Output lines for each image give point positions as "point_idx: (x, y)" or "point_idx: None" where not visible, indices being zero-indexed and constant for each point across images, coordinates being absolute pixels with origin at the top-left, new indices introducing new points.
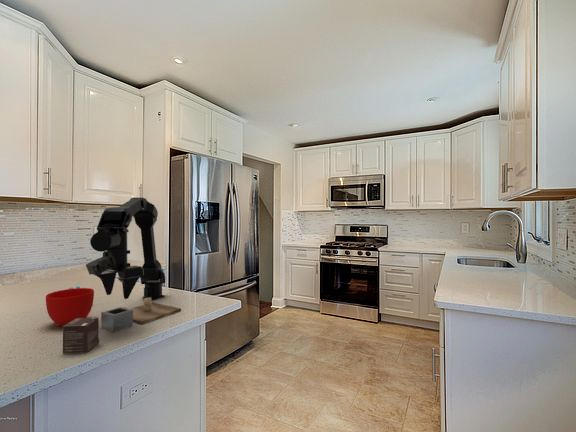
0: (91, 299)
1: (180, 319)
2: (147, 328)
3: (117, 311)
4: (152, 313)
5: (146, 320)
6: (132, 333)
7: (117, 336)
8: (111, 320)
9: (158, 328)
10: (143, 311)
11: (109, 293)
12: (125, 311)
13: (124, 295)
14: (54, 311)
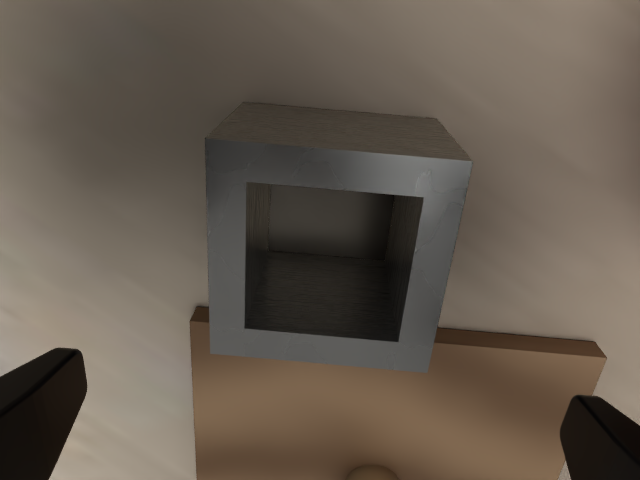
0: None
1: (62, 461)
2: (84, 272)
3: (399, 302)
4: (286, 460)
5: (192, 354)
6: (75, 154)
7: (114, 51)
8: (254, 127)
9: (16, 302)
10: (393, 467)
11: (574, 434)
12: (232, 294)
13: (8, 380)
14: None
